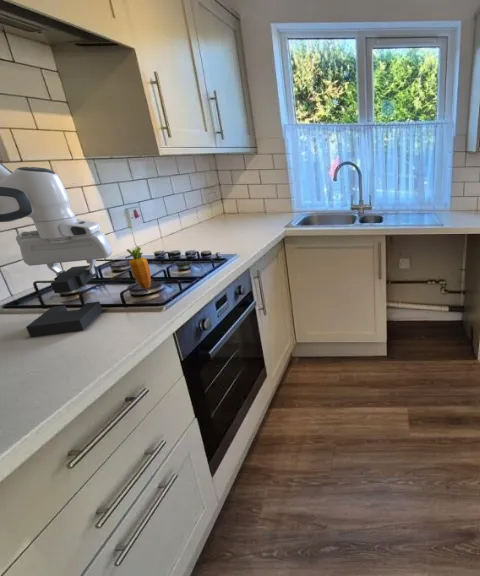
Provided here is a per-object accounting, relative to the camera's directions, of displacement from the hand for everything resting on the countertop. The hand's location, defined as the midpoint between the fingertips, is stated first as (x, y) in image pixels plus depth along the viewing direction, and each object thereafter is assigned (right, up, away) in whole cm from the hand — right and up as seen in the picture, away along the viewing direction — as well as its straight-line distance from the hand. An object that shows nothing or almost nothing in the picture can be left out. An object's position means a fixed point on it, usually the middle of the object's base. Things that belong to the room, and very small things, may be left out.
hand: (77, 275), depth 105 cm
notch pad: (+3, -13, -6) cm, 15 cm away
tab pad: (+1, -2, -1) cm, 3 cm away
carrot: (+12, -5, +13) cm, 18 cm away
